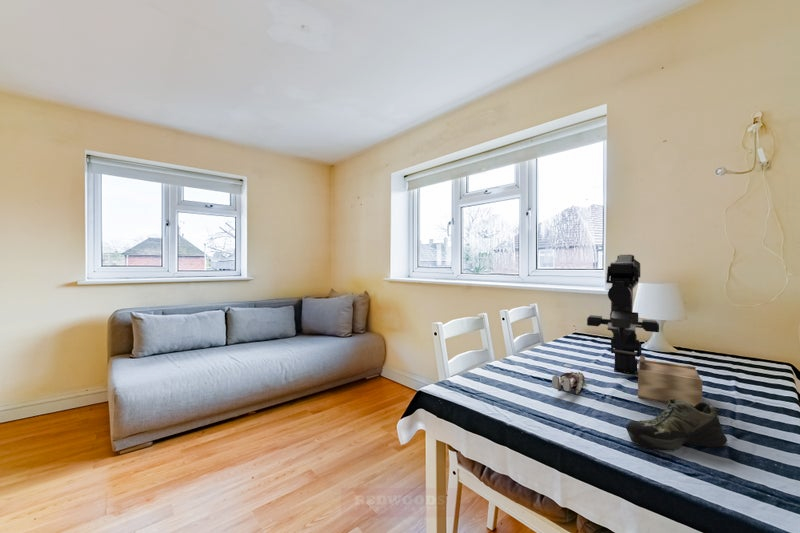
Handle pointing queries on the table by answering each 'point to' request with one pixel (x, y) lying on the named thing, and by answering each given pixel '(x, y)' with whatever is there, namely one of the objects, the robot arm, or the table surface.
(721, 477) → the table surface
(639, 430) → the hiking shoe
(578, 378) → the figurine
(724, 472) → the table surface
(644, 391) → the box
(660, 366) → the lid
